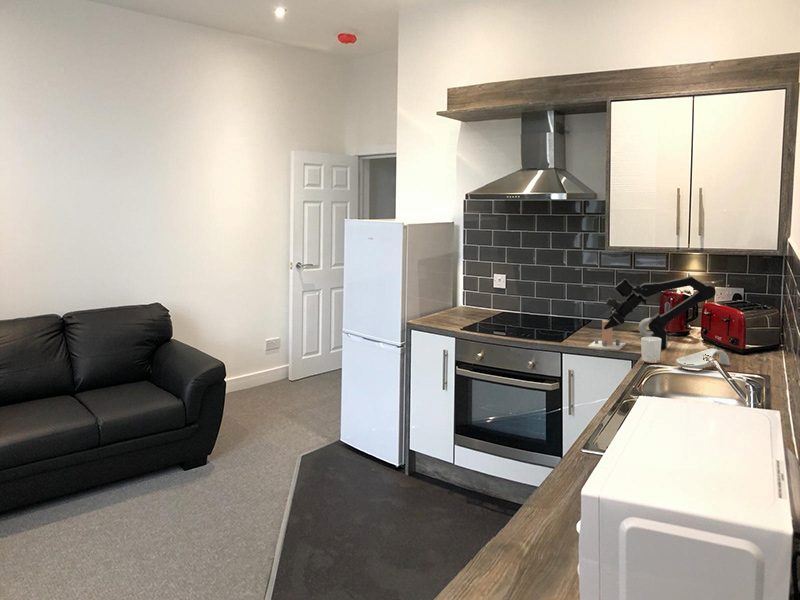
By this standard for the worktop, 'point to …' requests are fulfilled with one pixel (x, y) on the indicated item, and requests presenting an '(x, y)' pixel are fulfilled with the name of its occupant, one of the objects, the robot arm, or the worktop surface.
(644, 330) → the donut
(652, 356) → the white cup
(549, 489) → the worktop surface
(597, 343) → the peg board
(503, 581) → the worktop surface
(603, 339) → the terracotta block
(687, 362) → the spoon rest
